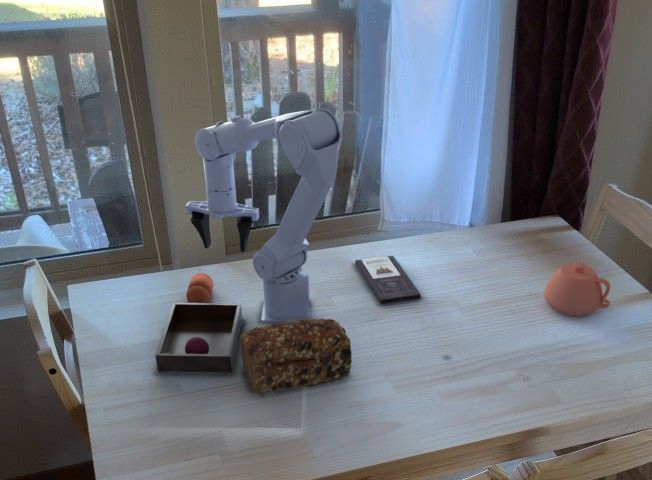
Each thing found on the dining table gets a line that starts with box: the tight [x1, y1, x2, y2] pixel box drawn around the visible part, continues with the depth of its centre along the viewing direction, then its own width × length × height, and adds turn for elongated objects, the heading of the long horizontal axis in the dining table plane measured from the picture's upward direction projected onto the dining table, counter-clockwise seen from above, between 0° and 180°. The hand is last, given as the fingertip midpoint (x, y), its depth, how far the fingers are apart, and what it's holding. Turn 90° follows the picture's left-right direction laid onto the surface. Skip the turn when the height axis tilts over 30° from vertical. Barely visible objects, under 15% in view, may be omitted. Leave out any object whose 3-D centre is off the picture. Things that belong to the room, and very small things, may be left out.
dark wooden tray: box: [154, 302, 243, 373], centre depth 158 cm, size 13×18×4 cm
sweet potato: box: [185, 272, 214, 303], centre depth 171 cm, size 9×5×5 cm, turn 3°
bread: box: [239, 318, 353, 394], centre depth 151 cm, size 19×11×10 cm, turn 111°
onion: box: [185, 337, 209, 354], centre depth 153 cm, size 4×4×4 cm
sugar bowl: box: [543, 261, 611, 318], centre depth 174 cm, size 12×14×10 cm
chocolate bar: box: [355, 255, 422, 305], centre depth 182 cm, size 9×1×18 cm
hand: (225, 248), depth 172 cm, fingers open, 7 cm apart
